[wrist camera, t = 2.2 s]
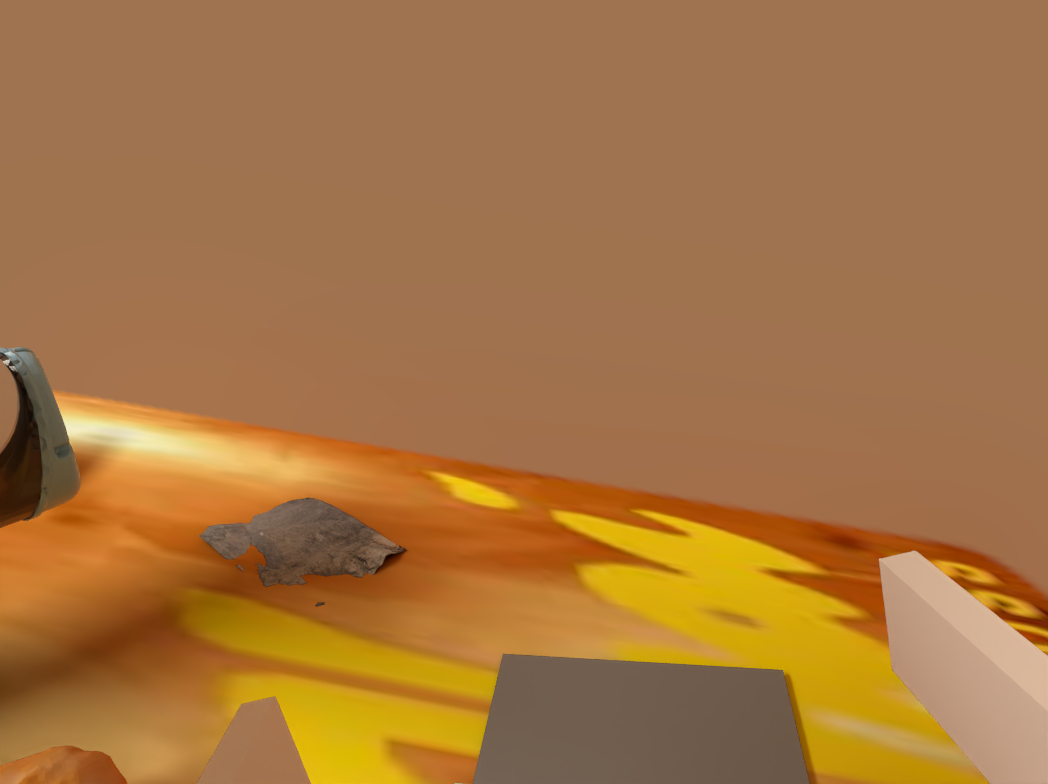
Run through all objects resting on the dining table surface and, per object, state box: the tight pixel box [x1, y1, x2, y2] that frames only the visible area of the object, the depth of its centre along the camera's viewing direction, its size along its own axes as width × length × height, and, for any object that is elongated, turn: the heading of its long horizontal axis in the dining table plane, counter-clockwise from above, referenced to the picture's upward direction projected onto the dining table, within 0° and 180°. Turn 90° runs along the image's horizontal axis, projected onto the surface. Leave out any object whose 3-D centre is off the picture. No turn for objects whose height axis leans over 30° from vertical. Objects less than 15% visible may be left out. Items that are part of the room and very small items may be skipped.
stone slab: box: [199, 498, 405, 607], centre depth 57 cm, size 18×2×10 cm
